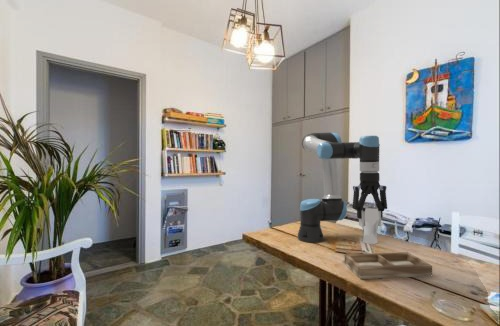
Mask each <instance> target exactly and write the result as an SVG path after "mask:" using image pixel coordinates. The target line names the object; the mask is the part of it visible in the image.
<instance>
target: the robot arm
mask: <svg viewBox="0 0 500 326" xmlns="http://www.w3.org/2000/svg"><path fill="white" fill-rule="evenodd" d="M301 147H302V149H304V150H305V151H307V152H313V153H315V154H317V157H318V158H319V159H321V164H322V165H321V166H322V181H323V193H324V194H323V196H322V197H321V200H320V199H319V198H308V199H304V200H302V201H301V202H300V205H299V211H300V212H299V213H300V214H299V215H300V221H299V222H300V225H299V229H298V232H297V239H298V240H300V241H301V242H306V243H312V244H314V243H321V242H323V241H324V239H325V238H324V232H323V230H322V227H321V222H333V221H334V222H338V221H343V220H344V219H345V218H346V215H347V211H348V207H347V202H345V200H343V197H342V196H341V195H340V191H339V190H340V189H339V176H338V164H337V163H338V162H337V159H355V160H356V159H359V171H360V173H359V185H356V186H355V185H353V186H352V189H353V190H352V191H353V195H352V196H353V198H352V205H351V206H352V207H351V208H352V209H353V210H355V211H356V217H357V219H358V225H359V226H360V227H362V228H363V227H364V211H362V209H363V206H365V203H366V200H367V197H368V196H369V195H371V196H372V197H373V200H374V204H375V206H376V207H378V208H379V225H378V227H382V219H383V214H384V213H383V212H384V211H385V210H387V209H388V202H387V186H386V185H381V184H380V173H379V172H380V147H381V146H380V137H379V136H377V135H362V136H360V137H359V141H357V142H356V141H354V142H349V141H348V142H345V141H344V142H342V138H341V136H340V135H339V133H337V132H311V133H308V134H306V135H305V136H304V137H303V138H302V139H301ZM360 191H361V192H360Z"/></svg>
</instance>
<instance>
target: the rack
mask: <svg viewBox="0 0 500 326" xmlns="http://www.w3.org/2000/svg"><path fill="white" fill-rule="evenodd" d="M344 265H346V267H347V268H348V269H350V271H351V272H353V274H354V275H355V276H357V277H358V278H359V279H360V280H368V279H369V280H372V279H392V278H393V279H394V278H415V277H417V276H420V277H432V276H433V265H431V264H430V263H428V262H426V261H424V260H423V259H421V258H419V257H418V256H415V255H414V254H412V253H410V252H408V251H404V252H400V251H399V252H381V253H380V252H378V253H377V252H376V253H374V252H373V253H354V254H353V253H352V254H344ZM431 275H432V276H431ZM417 278H418V277H417Z"/></svg>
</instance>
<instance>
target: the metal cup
mask: <svg viewBox="0 0 500 326" xmlns="http://www.w3.org/2000/svg"><path fill="white" fill-rule="evenodd" d="M362 211H364V227H362V232H363V233H362V239H361V241H362V243H364V244H367V245H377V244H379V239H378V230H379V226H378V225H379V208H378V207H377V206H376V205H375V206H374V205H364V206H363V209H362Z"/></svg>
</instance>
